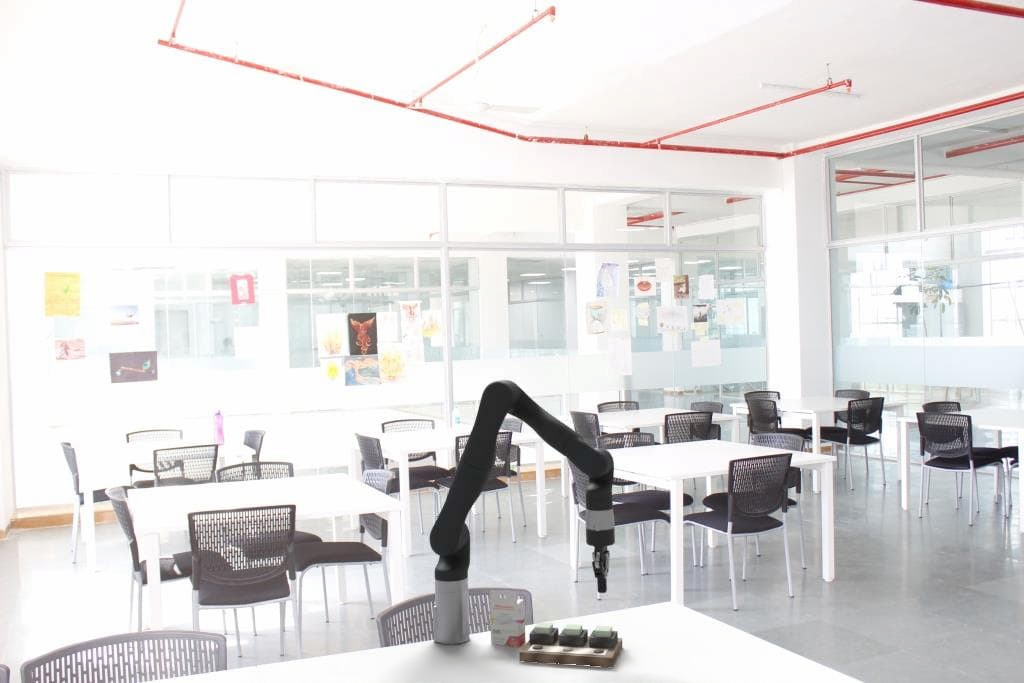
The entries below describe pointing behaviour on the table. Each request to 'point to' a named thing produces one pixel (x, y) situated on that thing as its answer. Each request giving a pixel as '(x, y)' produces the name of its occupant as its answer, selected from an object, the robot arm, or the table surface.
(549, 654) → the button panel
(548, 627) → the button
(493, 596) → the ink cartridge box
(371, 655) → the table surface
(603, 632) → the button
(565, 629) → the button middle
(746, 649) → the table surface
